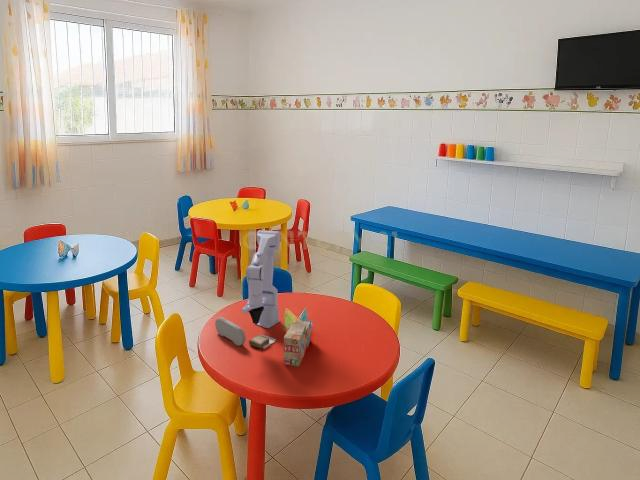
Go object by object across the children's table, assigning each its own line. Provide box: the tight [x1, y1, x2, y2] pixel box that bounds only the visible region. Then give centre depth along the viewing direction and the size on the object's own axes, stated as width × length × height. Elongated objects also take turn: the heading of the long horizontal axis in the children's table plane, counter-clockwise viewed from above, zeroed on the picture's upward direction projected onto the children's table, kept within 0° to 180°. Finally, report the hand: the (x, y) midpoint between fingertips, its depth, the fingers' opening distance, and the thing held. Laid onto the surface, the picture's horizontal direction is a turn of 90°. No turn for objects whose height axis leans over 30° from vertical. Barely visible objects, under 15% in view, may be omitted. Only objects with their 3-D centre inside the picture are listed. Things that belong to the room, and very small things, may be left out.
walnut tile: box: [248, 334, 269, 349], centre depth 197 cm, size 2×6×6 cm
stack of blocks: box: [283, 320, 312, 367], centre depth 190 cm, size 21×6×12 cm, turn 169°
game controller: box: [214, 316, 246, 347], centre depth 200 cm, size 20×2×8 cm, turn 47°
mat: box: [260, 334, 277, 349], centre depth 199 cm, size 8×8×1 cm
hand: (255, 323), depth 195 cm, fingers closed
